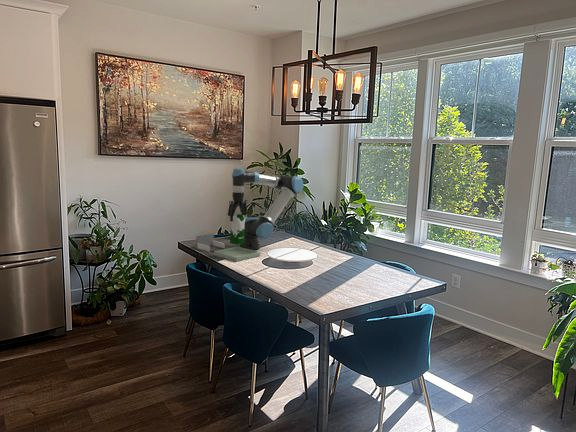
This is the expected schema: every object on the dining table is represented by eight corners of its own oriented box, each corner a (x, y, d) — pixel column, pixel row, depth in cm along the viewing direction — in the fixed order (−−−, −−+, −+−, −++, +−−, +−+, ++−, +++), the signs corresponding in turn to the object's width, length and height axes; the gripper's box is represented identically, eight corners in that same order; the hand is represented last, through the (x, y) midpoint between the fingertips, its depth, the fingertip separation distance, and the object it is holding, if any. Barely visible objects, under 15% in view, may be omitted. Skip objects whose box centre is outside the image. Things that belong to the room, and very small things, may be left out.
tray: (259, 256, 288) (260, 252, 288) (236, 262, 271) (236, 257, 271) (237, 250, 302) (237, 246, 302) (214, 255, 285) (214, 251, 285)
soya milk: (237, 245, 279) (237, 215, 276) (227, 243, 285) (228, 213, 282) (246, 243, 286) (247, 214, 283) (237, 241, 291) (237, 212, 288)
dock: (225, 248, 309) (225, 236, 307) (208, 251, 297) (208, 238, 295) (212, 244, 317) (212, 233, 316) (196, 248, 305) (196, 235, 304)
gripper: (245, 190, 290) (245, 222, 294) (222, 192, 274) (221, 226, 278) (253, 191, 286) (252, 224, 289) (230, 193, 269) (229, 227, 273)
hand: (237, 225), depth 283 cm, fingers closed on soya milk, 9 cm apart
